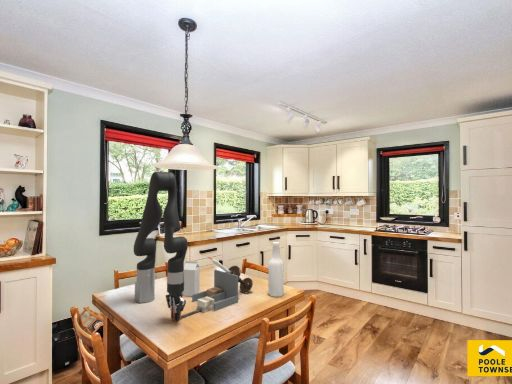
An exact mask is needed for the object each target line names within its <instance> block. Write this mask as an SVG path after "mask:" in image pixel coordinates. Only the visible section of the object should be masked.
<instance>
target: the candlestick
mask: <svg viewBox="0 0 512 384" xmlns="http://www.w3.org/2000/svg"><path fill="white" fill-rule="evenodd" d="M207 259H210V260H212V263H213V264H215V265H216V266H218V268H220V269H221V270H222V271H223V272H226V273H230V274H234V275H237V276H238V283H239V290H240V292H241V293H243V294H247V293H248V292H249V291H250V290H252V287H253V285H254V281H253V279H252V278H250V277H245V278H244V279H242V278H241V274H242V272H241V268H240V267H239V266H238V265H231V266H230V267H228V268H227V267H226V266H225V265H223V264H222V263H220V262H219V261H218V260H217V259H216V258H212V257H210V256H209V257H208V256H207Z"/></svg>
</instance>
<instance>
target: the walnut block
mask: <svg viewBox="0 0 512 384" xmlns="http://www.w3.org/2000/svg"><path fill="white" fill-rule="evenodd" d="M206 290H207V296H206V297H210V296H213V295H216V294H219V293H222V289H219V288H216V287H214V286H213V287H211V288H207V289H206Z"/></svg>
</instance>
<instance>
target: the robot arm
mask: <svg viewBox="0 0 512 384" xmlns="http://www.w3.org/2000/svg"><path fill="white" fill-rule="evenodd" d="M148 184H149V186H148V192H147V197H146V202H145V206H144V209H143V213H142V216H141V222H140V226H139V228H138V229H139V230H138V233H137V235H136V237H135V240H134V242H133V243H134V244H133V254H134V255H135V256H136V257H145V256H146V257H145V258H143V260H141V261H138V262H137V263H136V282H135V283H134V301H135V302H137V303H139V304H142V303H144V304H145V303H149V302H152V301H154V300H155V296H156V295H155V290H156V288H155V287H156V285H155V284H156V282H155V281H156V280H155V278H156V275H155V274H156V273H155V272H156V269H155V268H156V257H157V241H156V240H155V238H154V237H149V235H150V234H152V232H154V231H156V229H157V228H158V227H159V225H160V224H161V220H163V221H162V222H163V225H164V238H163V239H164V240H163V249H164V251H165V252H166V253H167V254H175V255H174V256H172V257H171V258H169V259H168V262H167V277H166V293H167V294H166V295H165V299H166V304H167V308H168V309H169V311H170V319H171V320H172V319H173V307H174V308H175V321H176V322H178V320H179V319H180V312H181V313H182V312H183V311H184V310H185V306H186V304H187V301H186V299H183V291H184V266H185V263H184V262H185V258H186V256H187V255H186V254H187V252H188V247H189V243H188V239H187V238H186V237H185V236H174V234H175V233H178V232H179V231H181V229H182V228H181V222H180V217H179V212H178V211H179V210H178V192H177V191H178V190H177V188H178V187H177V179H176V176H175V174H174V173H173V172H169V171H154V172H153V173H152V174H151V176H150V178H149V183H148ZM159 192H167V193H168V200H167V203H166V204H165V206H164V209H163V208H162V205H161V204H160V202H159V200H158V194H159ZM177 307H178V309H177ZM175 321H174V322H175ZM179 321H180V320H179Z"/></svg>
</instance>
